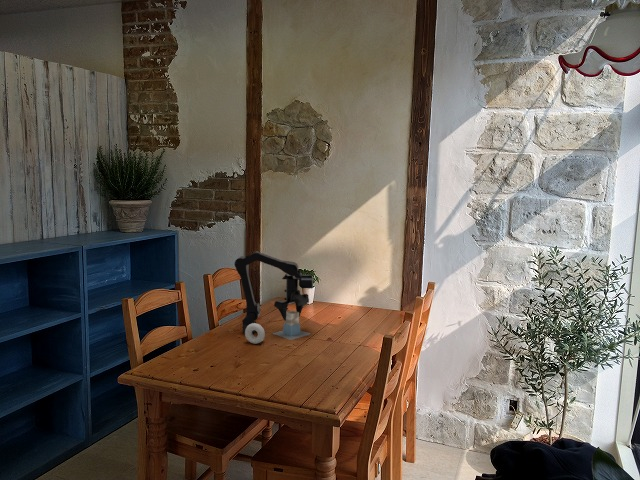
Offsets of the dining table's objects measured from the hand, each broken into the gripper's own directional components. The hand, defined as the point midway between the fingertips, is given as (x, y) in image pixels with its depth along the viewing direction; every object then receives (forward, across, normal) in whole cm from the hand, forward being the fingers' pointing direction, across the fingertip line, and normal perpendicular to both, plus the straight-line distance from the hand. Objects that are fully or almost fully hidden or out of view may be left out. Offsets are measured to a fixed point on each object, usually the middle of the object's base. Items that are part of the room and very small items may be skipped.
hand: (291, 318), depth 261 cm
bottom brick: (+8, 0, 0) cm, 8 cm away
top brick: (+3, 0, 0) cm, 3 cm away
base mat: (+9, 0, 0) cm, 9 cm away
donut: (+9, -21, +3) cm, 23 cm away
